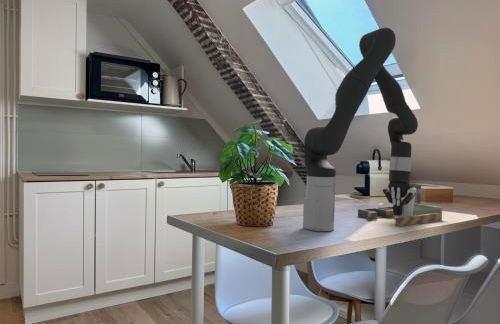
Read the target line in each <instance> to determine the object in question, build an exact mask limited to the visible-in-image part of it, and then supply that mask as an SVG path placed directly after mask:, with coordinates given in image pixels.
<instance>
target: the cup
mask: <svg viewBox="0 0 500 324" xmlns="http://www.w3.org/2000/svg"><path fill="white" fill-rule="evenodd" d="M410 190H411V191H412V192H415V193H416V189H414V188H410ZM406 196H407V194H406V195H405V197H406ZM396 197H397V196H396ZM414 200H415V196H414V197H413V198H412V200H411V201H410V202H409V203H408V204H407V205H403V206H402V214H401V215H400V216H396V215H395V217H393V219H394V220H396V218H399V217H407V216H413V208H414Z"/></svg>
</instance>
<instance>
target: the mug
mask: <svg viewBox="0 0 500 324" xmlns="http://www.w3.org/2000/svg"><path fill="white" fill-rule="evenodd" d="M409 185H410V188H414V189H416V195H415V200H414V203H416V204H421V200H422V194H421V193H422V184H421V183H414V182H413V183H412V182H410V183H409Z"/></svg>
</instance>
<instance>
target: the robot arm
mask: <svg viewBox="0 0 500 324" xmlns="http://www.w3.org/2000/svg"><path fill="white" fill-rule="evenodd" d="M396 39H397V38H396V33H395V31H394V30H392V29H391V28H389V27H382V28H377V29H376V30H373V31H370V32H367V33H366V34H364V35H362V36H361V38H360V39H359V44H358V45H359V46H358V47H359V51H360V53H361V56H362V58H361V60H360V61H359V62H358V63H357V64H356V65H354V66H353V67H352V68H351V69H350V70H349V71H348V72H347V73H346V75H345V76H344V77H343V79H342V80H341V83H340V84H339V86H338V87H337V88H336V89H337V90H336V92H335V95H334V100H335V101H334V102H335V104H334V105H335V109H334V113H333V115H332V116H331V118H330V120H329V121H328V123H327V124H326V125H325V126H317V127H312V128H310V129H309V130H308V131H306V134H305V137H304V141H303V142H304V143H303V145H304V146H303V148H304V149H303V150H304V151H303V153H304V154H303V155H304V158H303V159H304V167H305V169H306V192H305V194H306V195H305V198H303V209H302V210H303V215H302V216H303V217H302V218H303V219H302V228H303V229H305V230H309V231H313V232H331V231H334V230H335V208H336V207H335V201H336V200H335V199H336V176H337V175H336V174H337V173H336V172H337V171H336V167H334V166H333V165H332V164H330V162H329V161H328V156H333V155H335V154H336V153H338V151H339V150H340V149H341V147H342V146H343V143H344V141H345V138H346V136H347V134H348V132H349V128H350V126H351V124H352V122H353V120H354V118H355V116H356V114H357V112H358V110H359V108H360V106H361V105H362V103H363V101H364V99H365V98H366V96H367V94H368V92H369V90H370V88H371V86H372V84H373V82H374V81H375V82H376V84H377V86H378V89H379V91H380V94H381V97H382V100H383V103H384V106H385V109H386V110H387V112H388V113H390V114H394V115H395V116H393V117H391V118H390V120H389V121H388V125H387V134H388V137H389V142H390V147H391V149H390V160H389V167H388V169H389V171H388V181H389V183H388V185H387V187H386V188H383V189H382V193H383V194H384V196H385V198H386V199H387V202H388V203H389V204H392V206H393V214H394V215H396V216H400V215H401V214H402V206H403V205H407V204H408V203H409V202H410V201H411V200H412V198H413V197H414V196H415V195H416V193H415V192H412V191H411V190H410V185H409V183H411V180H412V179H411V177H412V159H411V158H412V143H411V142H409V141H405V140H404V136H408V135H409V136H410V135H413V134H415V133H416V132H417V130H418V127H419V123H418V119H417V117H416V115H415V114H414V111H412V109H411V108H410V106H409V105H408V103H407V102H406V98H405V96H404V92H403V89H402V86H401V85H400V83H399V82H398V81H397V79H396V78H395V77H394V76H393V75H392V74H391V73H390V72H389V71H388V70H387V69H386V67H385V65H384V64H385V63H386V61H387V60H388V59H389V57H390V55H391V54H392V52H393V51H394V49H395V45H396V42H397V41H396ZM406 194H407V196H406V197H405V195H406ZM396 196H397V197H396Z"/></svg>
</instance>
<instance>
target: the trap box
mask: <svg viewBox="0 0 500 324" xmlns="http://www.w3.org/2000/svg"><path fill="white" fill-rule="evenodd" d="M377 215H378V216H383V217H386V218H387V219H391V218H392V219H394V218H395V215H394V214H393V205H389V206H379V207H369V208H368V207H367V208H360V209H357V217H360V218H365V219H366V220H367V221H376V220H378V219H377ZM386 218H385V219H386ZM442 219H443V207H442V206H437V205H428V204H423V203H422V204H421V203H420V204H416V203H414V208H413V216H407V217H399V218H396V219H395V227H405V226H412V225H417V224H425V223H432V222H438V221H439V220H440V221H442ZM440 221H439V222H440Z"/></svg>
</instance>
